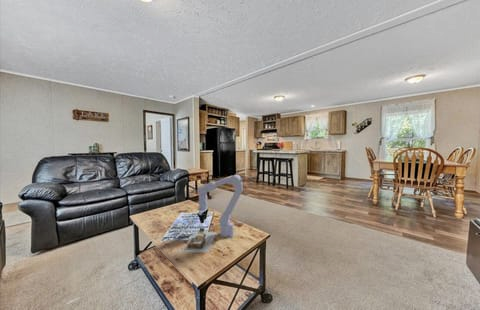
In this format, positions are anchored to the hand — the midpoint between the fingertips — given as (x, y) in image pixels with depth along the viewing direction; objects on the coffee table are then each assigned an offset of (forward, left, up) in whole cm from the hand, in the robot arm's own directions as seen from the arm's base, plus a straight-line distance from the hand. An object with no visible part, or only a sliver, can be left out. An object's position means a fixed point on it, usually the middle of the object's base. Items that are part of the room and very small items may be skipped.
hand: (203, 220), depth 124 cm
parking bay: (0, +15, -9) cm, 18 cm away
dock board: (-1, +10, -9) cm, 14 cm away
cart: (0, +7, -9) cm, 11 cm away
